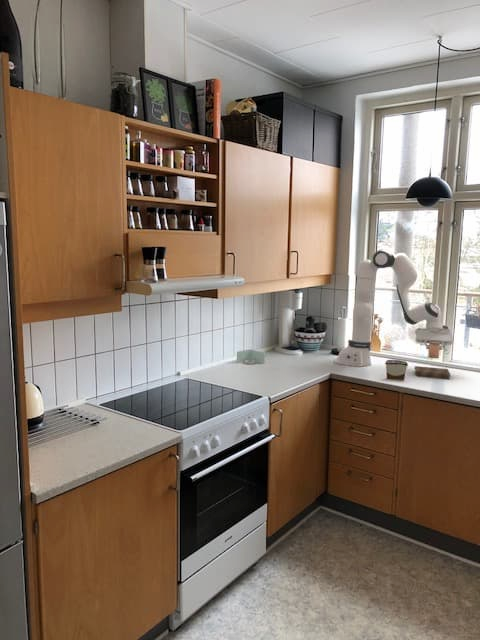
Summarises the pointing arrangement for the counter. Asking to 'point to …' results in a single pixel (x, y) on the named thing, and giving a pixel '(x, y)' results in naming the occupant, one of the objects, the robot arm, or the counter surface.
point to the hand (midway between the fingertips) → (434, 348)
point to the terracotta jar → (434, 349)
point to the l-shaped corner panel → (250, 356)
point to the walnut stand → (432, 372)
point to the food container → (395, 369)
